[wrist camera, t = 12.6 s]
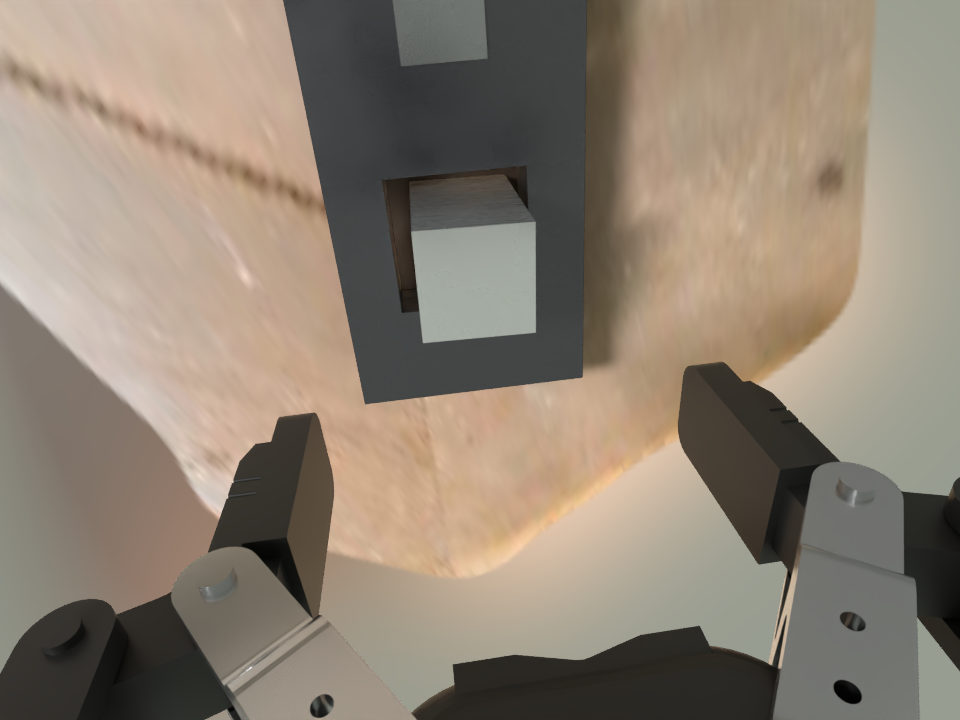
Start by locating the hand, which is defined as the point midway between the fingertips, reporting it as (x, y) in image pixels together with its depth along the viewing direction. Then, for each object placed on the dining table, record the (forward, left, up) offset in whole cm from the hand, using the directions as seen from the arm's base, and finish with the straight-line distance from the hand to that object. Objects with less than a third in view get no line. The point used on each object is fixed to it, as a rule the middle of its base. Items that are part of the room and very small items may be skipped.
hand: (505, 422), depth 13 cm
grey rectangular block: (0, 0, -15) cm, 15 cm away
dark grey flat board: (0, +3, -15) cm, 15 cm away
